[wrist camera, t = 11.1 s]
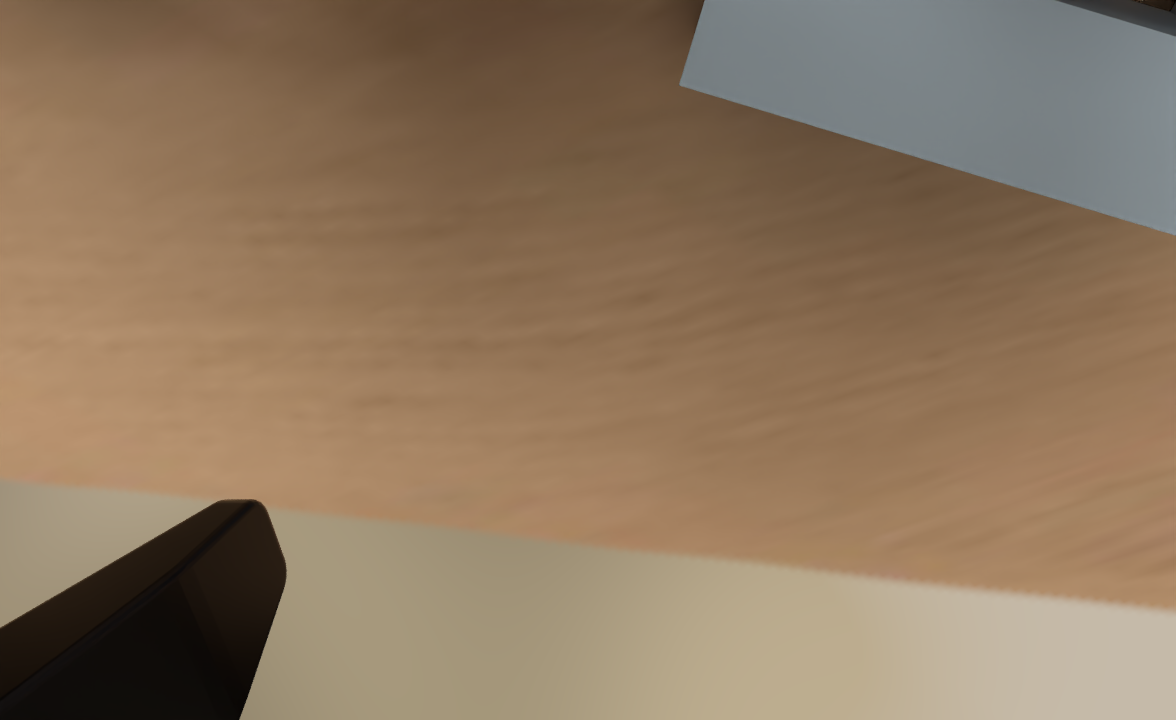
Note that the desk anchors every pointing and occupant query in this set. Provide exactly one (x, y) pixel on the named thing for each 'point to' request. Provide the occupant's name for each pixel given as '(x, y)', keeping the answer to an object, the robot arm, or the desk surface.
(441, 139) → the desk surface
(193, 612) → the robot arm
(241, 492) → the desk surface
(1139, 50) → the bracket block
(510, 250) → the desk surface
